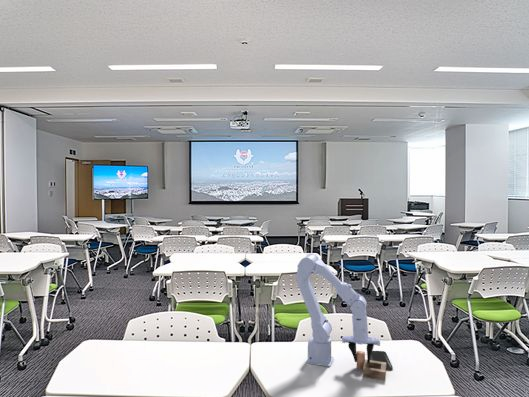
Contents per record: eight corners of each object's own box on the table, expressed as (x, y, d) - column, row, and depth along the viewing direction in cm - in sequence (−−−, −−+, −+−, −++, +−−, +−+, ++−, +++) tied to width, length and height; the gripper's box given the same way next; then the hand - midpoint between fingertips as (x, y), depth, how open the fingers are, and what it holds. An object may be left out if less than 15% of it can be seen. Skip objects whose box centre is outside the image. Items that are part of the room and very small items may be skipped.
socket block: (363, 376, 140) (363, 368, 140) (365, 366, 147) (365, 359, 147) (385, 380, 137) (385, 372, 137) (386, 370, 144) (386, 362, 144)
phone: (385, 351, 159) (393, 368, 144) (385, 353, 159) (393, 371, 144) (366, 350, 160) (372, 367, 145) (366, 353, 160) (372, 370, 145)
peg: (356, 368, 146) (356, 353, 146) (357, 364, 149) (357, 350, 149) (364, 369, 145) (364, 354, 145) (365, 366, 148) (365, 351, 148)
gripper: (340, 330, 145) (342, 364, 145) (378, 332, 140) (380, 368, 140) (342, 323, 152) (345, 356, 152) (379, 326, 147) (381, 359, 147)
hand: (362, 361), depth 147 cm, fingers open, 4 cm apart
